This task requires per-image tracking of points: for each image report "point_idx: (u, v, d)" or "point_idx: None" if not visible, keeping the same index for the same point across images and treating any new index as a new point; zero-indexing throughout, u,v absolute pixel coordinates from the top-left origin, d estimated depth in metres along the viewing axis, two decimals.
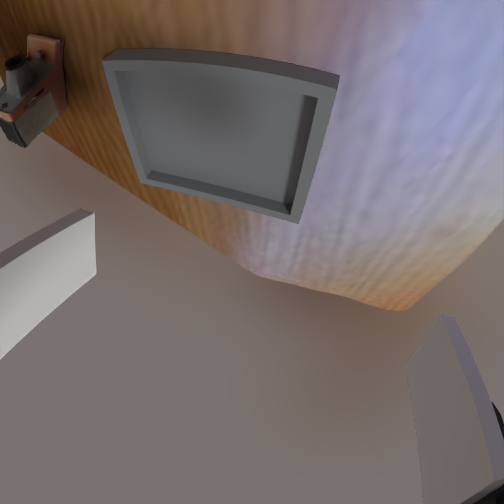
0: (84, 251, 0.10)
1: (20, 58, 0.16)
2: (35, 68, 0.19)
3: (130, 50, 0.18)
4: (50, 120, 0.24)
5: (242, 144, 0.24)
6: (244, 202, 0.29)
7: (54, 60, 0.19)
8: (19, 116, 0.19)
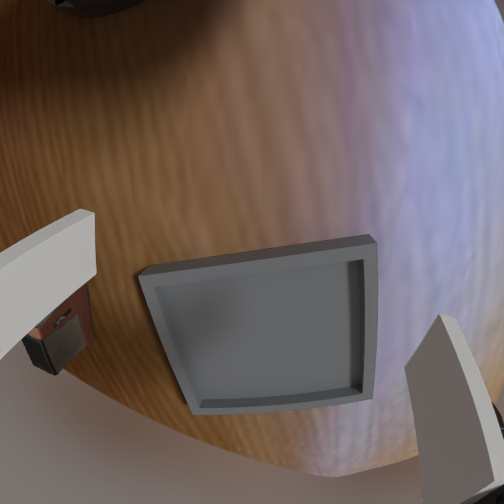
0: (84, 251, 0.10)
1: None
2: None
3: (164, 264, 0.23)
4: (79, 349, 0.24)
5: (299, 340, 0.24)
6: (314, 400, 0.25)
7: None
8: (48, 335, 0.19)
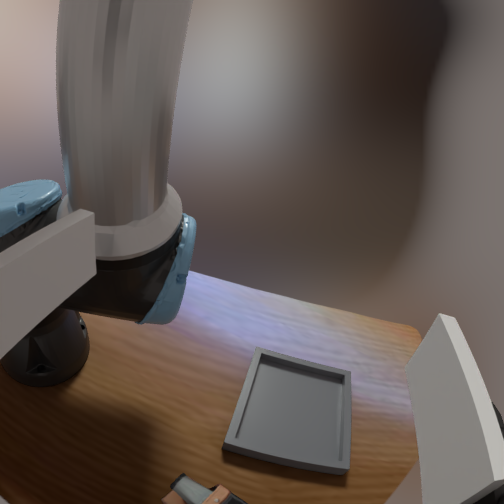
0: (84, 251, 0.10)
1: None
2: None
3: None
4: None
5: (299, 396, 0.39)
6: (344, 397, 0.38)
7: None
8: None
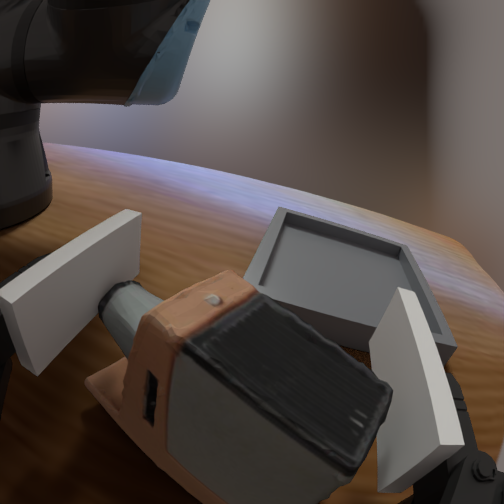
0: (131, 251, 0.11)
1: None
2: None
3: None
4: None
5: (348, 261, 0.27)
6: (410, 265, 0.27)
7: None
8: None
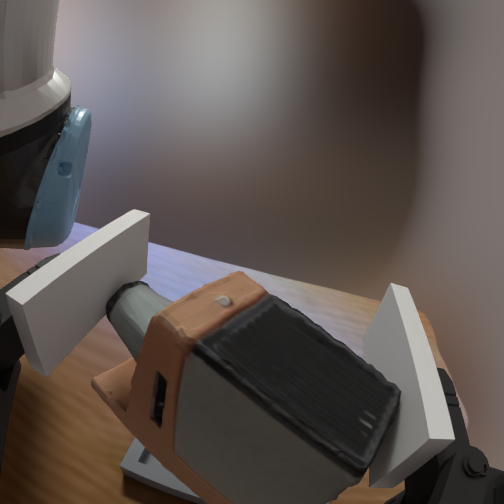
0: (139, 251, 0.11)
1: None
2: None
3: None
4: None
5: None
6: None
7: None
8: None
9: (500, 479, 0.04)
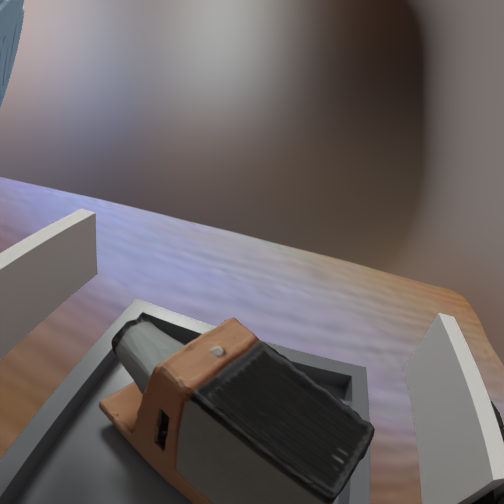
0: (85, 251, 0.10)
1: None
2: None
3: None
4: None
5: None
6: None
7: None
8: None
9: None
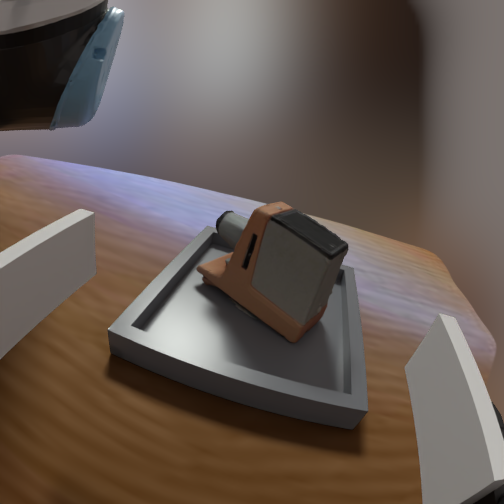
0: (84, 251, 0.10)
1: None
2: None
3: None
4: None
5: None
6: (346, 294, 0.25)
7: None
8: None
9: None
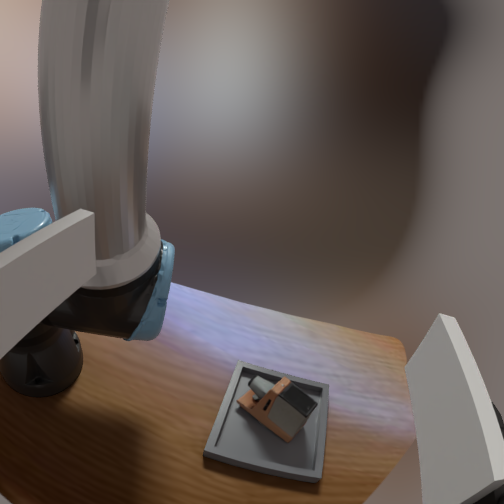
0: (84, 251, 0.10)
1: None
2: None
3: None
4: None
5: None
6: (321, 409, 0.40)
7: None
8: None
9: None
